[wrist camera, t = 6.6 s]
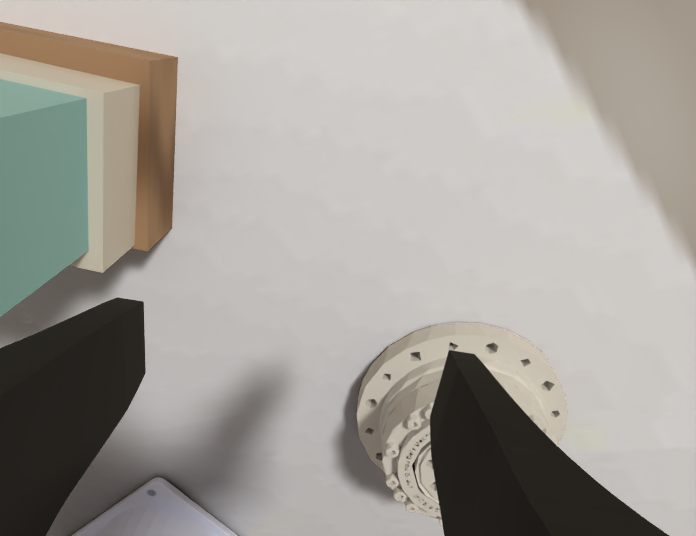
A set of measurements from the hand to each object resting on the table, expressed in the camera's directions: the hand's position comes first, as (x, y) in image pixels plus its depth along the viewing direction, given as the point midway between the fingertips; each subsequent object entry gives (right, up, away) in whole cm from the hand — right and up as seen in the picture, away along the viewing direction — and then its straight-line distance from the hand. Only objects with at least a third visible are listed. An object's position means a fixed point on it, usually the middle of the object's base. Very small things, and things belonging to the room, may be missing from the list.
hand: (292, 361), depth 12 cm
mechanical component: (+7, -5, +14) cm, 16 cm away
